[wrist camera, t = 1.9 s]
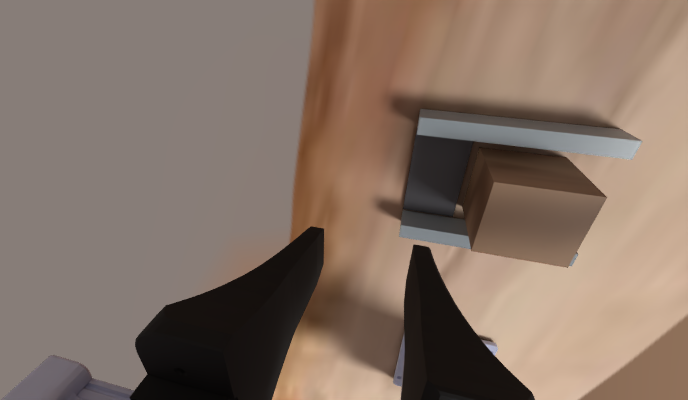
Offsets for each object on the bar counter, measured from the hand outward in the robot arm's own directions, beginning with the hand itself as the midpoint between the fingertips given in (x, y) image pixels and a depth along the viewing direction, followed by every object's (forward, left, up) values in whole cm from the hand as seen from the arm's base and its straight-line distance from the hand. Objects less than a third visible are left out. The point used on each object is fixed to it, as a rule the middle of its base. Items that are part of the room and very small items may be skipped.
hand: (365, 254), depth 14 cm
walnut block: (0, -8, -10) cm, 12 cm away
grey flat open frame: (0, -7, -9) cm, 12 cm away
